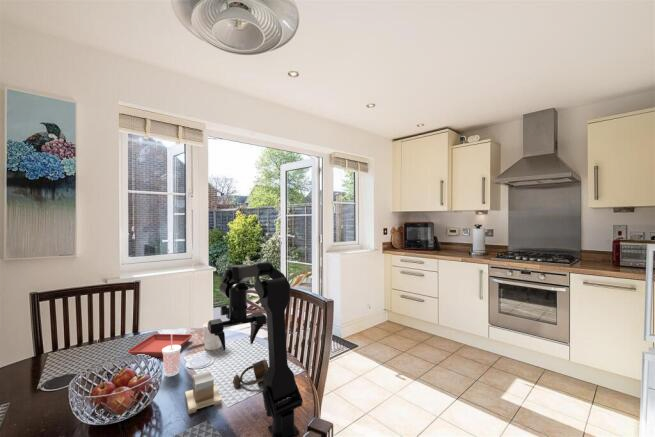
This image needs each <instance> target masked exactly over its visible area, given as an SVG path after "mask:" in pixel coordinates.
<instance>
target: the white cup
mask: <svg viewBox="0 0 655 437" xmlns="http://www.w3.org/2000/svg"><path fill="white" fill-rule="evenodd" d="M208 322H209V321H207V322H205V323H203V325H202V326H203V327H202V328H203V342H204V349H205V350H208V351H215V350H218V349H220V348H221V347H222V345H221V342H220V339H219V337H218V336H215V335H214V334H210V332H209V330H208Z"/></svg>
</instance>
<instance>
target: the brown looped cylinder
mask: <svg viewBox="0 0 655 437" xmlns="http://www.w3.org/2000/svg"><path fill="white" fill-rule="evenodd" d="M268 368H269V362H268V361H267V359H262V360H259V361H257V362H255V363H252V365H249V366H248V367H246V368H245V369H244V370H243V371H242V372H241V374H240V375H239V374H235V375H234V377H233V379H232V384H233V386H234V387H235V388H239V387H240V384H242V385H243V386H247V387H248V386H252V385H255V384H259V383H263V372H265V371H267V370H268ZM252 369H253V374H254V377H255V380H253V381H251V382H245V381H244V380H243V378H244V375H245V374H246V372H248V371H250V370H252Z"/></svg>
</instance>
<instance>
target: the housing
mask: <svg viewBox="0 0 655 437" xmlns="http://www.w3.org/2000/svg"><path fill="white" fill-rule="evenodd" d="M214 381H215V380H214V378H213V375H212V373H211V371H210V370H209V371H205V372H200V373H196V374H193V375H192V390H193V395H194V399H195V402H196V403H199V402H202V401H206V400H209V399H212V398H214V384H215V382H214Z"/></svg>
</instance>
